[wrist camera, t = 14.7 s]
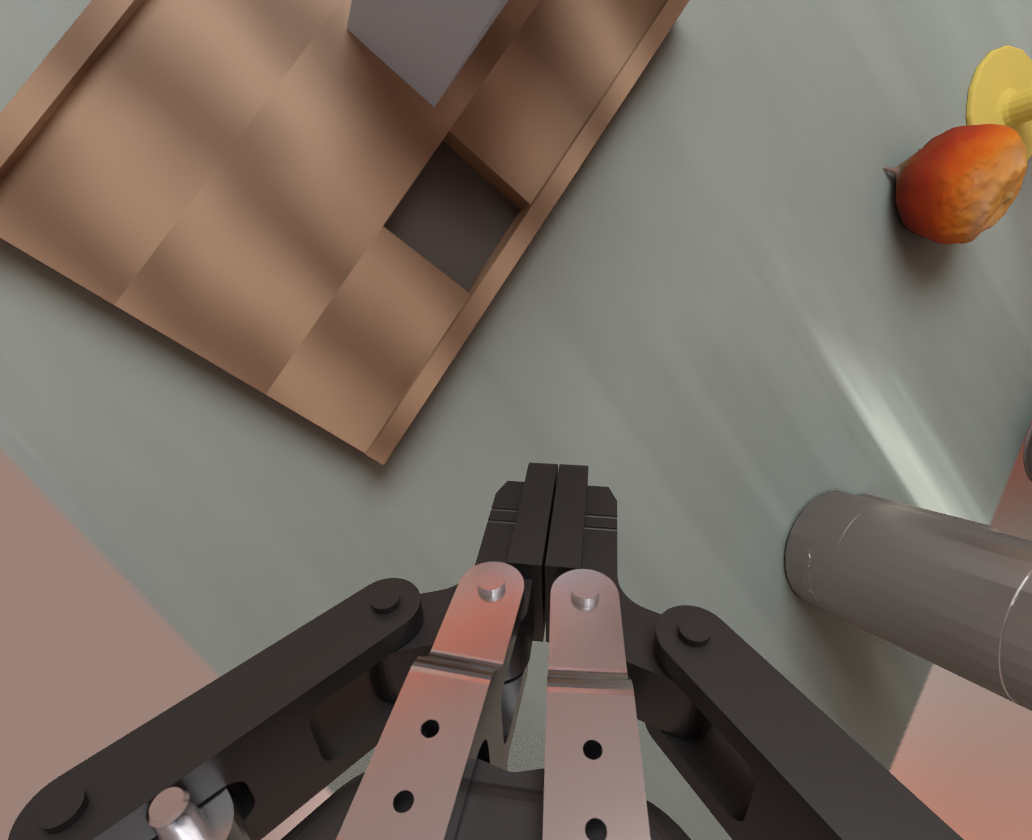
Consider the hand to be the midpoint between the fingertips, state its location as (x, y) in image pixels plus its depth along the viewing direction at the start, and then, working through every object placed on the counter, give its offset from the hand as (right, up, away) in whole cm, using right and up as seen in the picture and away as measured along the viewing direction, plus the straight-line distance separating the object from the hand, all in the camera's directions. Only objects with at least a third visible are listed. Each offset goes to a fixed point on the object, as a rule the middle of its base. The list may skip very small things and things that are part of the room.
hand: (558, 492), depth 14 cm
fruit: (+30, +19, +30) cm, 46 cm away
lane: (-8, +19, +14) cm, 25 cm away
